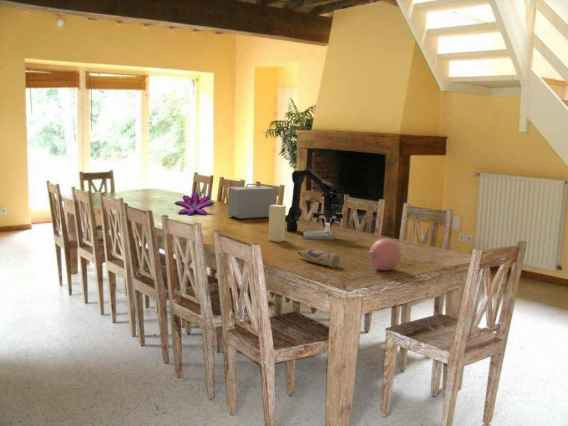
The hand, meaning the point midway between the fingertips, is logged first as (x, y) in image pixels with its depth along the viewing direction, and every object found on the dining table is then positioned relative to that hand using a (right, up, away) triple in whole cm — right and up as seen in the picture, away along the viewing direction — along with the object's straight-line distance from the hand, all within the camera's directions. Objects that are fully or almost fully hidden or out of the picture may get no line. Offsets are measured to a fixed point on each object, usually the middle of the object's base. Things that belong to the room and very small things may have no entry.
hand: (327, 228), depth 367 cm
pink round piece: (+20, -18, -81) cm, 85 cm away
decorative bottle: (-9, -16, -68) cm, 71 cm away
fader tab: (0, -3, 0) cm, 3 cm away
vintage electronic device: (-51, +7, +68) cm, 85 cm away
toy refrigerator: (-31, -7, -15) cm, 35 cm away
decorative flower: (-95, +10, +79) cm, 124 cm away
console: (-6, -5, +1) cm, 7 cm away
